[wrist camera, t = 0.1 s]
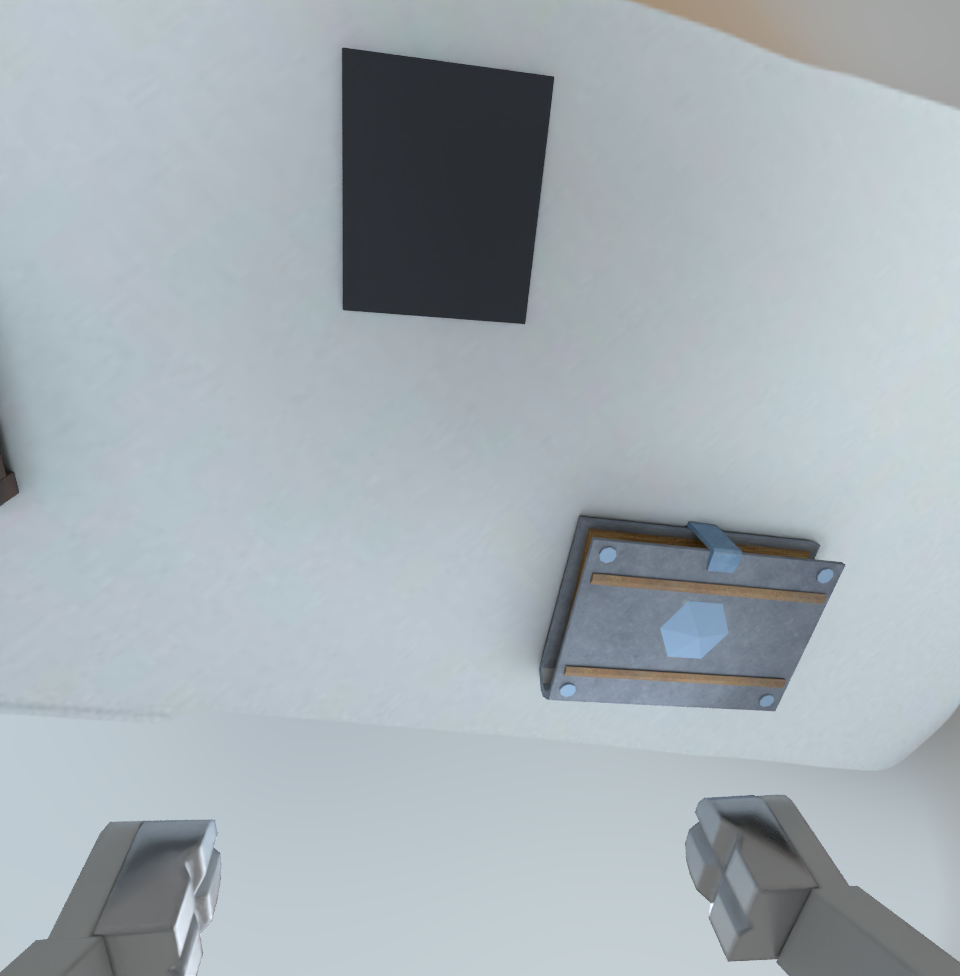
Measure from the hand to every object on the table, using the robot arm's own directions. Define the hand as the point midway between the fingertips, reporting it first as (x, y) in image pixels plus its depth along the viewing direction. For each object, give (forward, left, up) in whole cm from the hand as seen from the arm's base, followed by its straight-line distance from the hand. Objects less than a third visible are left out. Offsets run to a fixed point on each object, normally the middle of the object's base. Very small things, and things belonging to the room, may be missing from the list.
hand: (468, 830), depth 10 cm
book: (+20, +23, -34) cm, 46 cm away
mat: (-10, +1, -34) cm, 36 cm away
